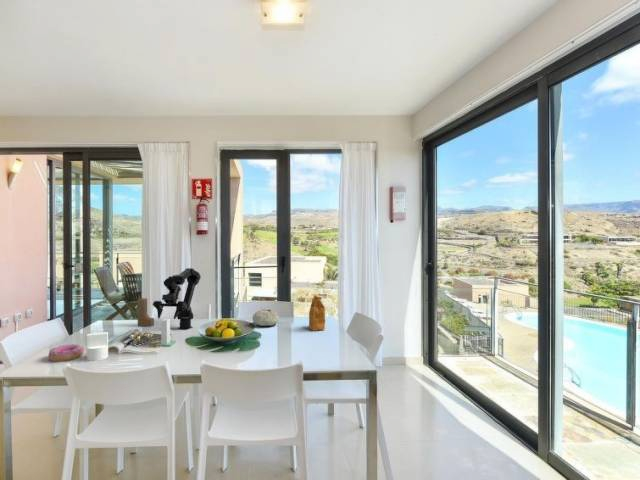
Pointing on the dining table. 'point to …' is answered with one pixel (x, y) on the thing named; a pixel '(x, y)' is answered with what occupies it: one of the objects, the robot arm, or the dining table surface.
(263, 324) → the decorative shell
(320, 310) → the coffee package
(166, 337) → the column on green base
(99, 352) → the cylinder with rectangular tab
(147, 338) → the plate
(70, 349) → the donut
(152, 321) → the brown boot
